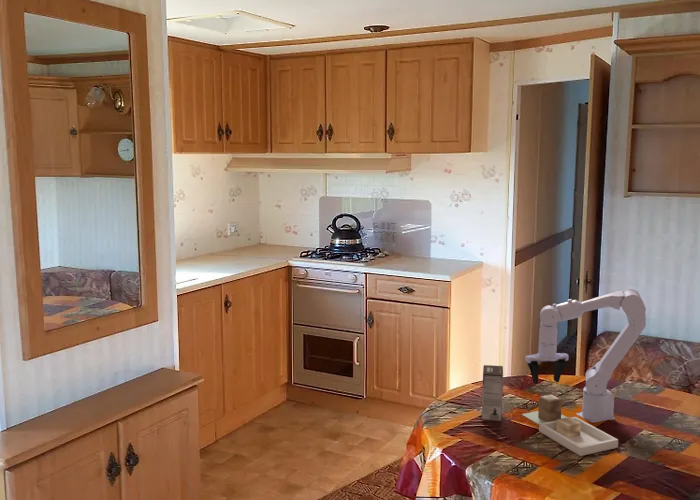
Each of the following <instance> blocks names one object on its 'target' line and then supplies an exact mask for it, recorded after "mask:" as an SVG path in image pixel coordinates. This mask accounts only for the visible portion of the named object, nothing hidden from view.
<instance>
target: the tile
mask: <svg viewBox="0 0 700 500" xmlns="http://www.w3.org/2000/svg"><path fill="white" fill-rule="evenodd" d="M521 416H523V417H525V418H527V419H528V420H530V421H531V422H533V423H535V424H537V425H538V426H539V424H541V423H546V421H544V420H543V419H541V418H539V417H538V410H535V411H531V412H526V413H521ZM567 417H568V416H565V415H564V414H562V413H561V419H562V418H567Z"/></svg>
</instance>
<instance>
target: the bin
mask: <svg viewBox="0 0 700 500" xmlns="http://www.w3.org/2000/svg"><path fill="white" fill-rule="evenodd" d="M571 418H572V419H574V420H576V421H578V422H580V423H581V433H580V436H576V437H572V438H566V437H565V436H563V435H561V434H560V433H558V432H556V425H557V420H556V421H551V422H546V423H541V424H539V425H538V427H539V429H538V432H539V433H542V434H543V435H545V436H546V437H548V438H549V439H551V440H553V441H554V442H556V443H558V444H559V445H561V446H562V447H564V448H566V449H568V450H569V451H571V452H572V453H574V454H576V455H577V456H579V457H583V456H586V455H591V454H594V453H601V452H603V451H608V450H613V449H617V448H619V438H616V437H614V436H612V435H610V434H609V433H606V432H605V431H603V430H601V429H600V428H597V427H596V426H594V425H592V424H589V423H588V422H586V421H584V420H582V419H581V418H579V417H577V416H572V417H571Z"/></svg>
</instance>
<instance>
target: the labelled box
mask: <svg viewBox="0 0 700 500" xmlns="http://www.w3.org/2000/svg"><path fill="white" fill-rule="evenodd" d="M562 405H563V399H562V398H559V397H558V396H556V395H554V394H552V393H551V394H545V395H541V396H540V395H539V397H538V410H537V411H538V417H539V418H541V419H543V420H544V421H546V422H551V421H556V420H557V419H561V414H562Z"/></svg>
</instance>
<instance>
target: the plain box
mask: <svg viewBox="0 0 700 500" xmlns="http://www.w3.org/2000/svg"><path fill="white" fill-rule="evenodd" d="M566 417H567V418H562V419H557V425H556V432H558V433H560V434H561V435H563V436H565V437H566V438H572V437H576V436H580V433H581V423H580V422H578V421H576V420H574V419H572V418H571V417H569V416H566Z"/></svg>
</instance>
